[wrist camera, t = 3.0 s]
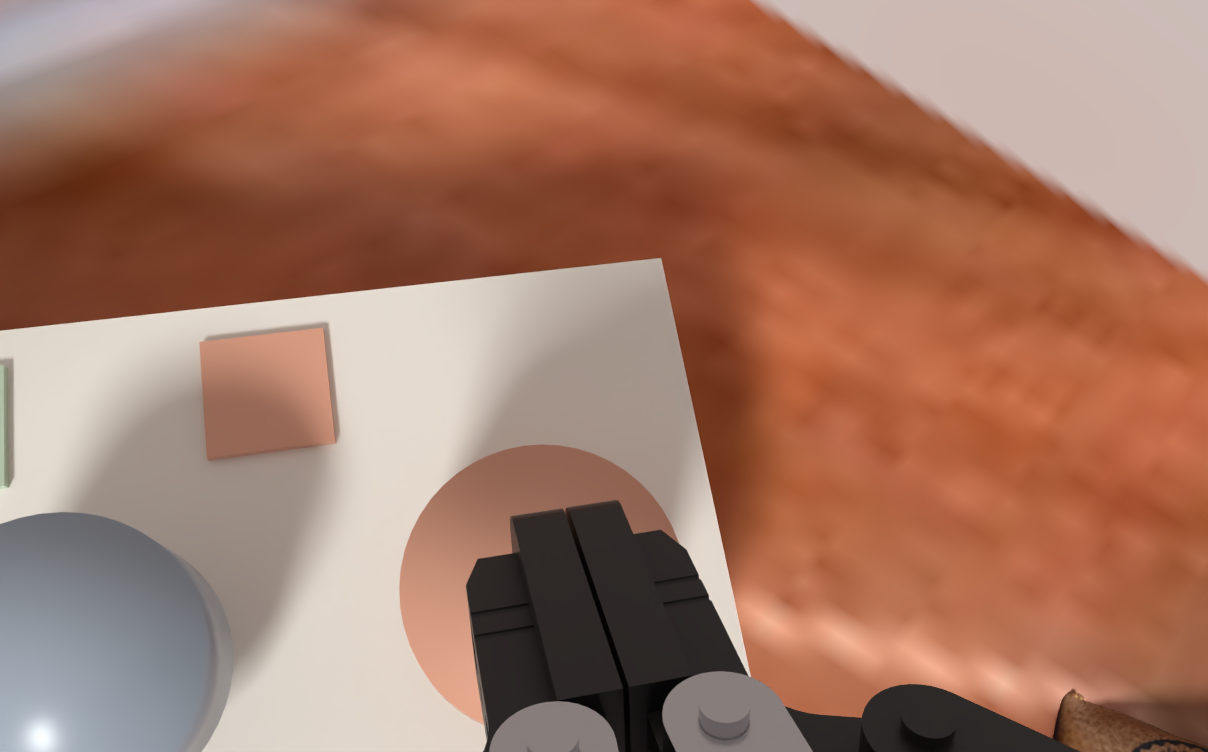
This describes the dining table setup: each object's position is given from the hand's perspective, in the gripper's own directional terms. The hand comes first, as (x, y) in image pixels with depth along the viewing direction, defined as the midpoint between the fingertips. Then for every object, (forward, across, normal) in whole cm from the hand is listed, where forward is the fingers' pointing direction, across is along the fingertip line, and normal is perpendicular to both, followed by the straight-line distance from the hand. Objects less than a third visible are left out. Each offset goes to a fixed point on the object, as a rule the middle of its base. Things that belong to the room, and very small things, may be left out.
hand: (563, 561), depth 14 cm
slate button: (+3, +8, +3) cm, 9 cm away
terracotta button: (+3, 0, +3) cm, 4 cm away
